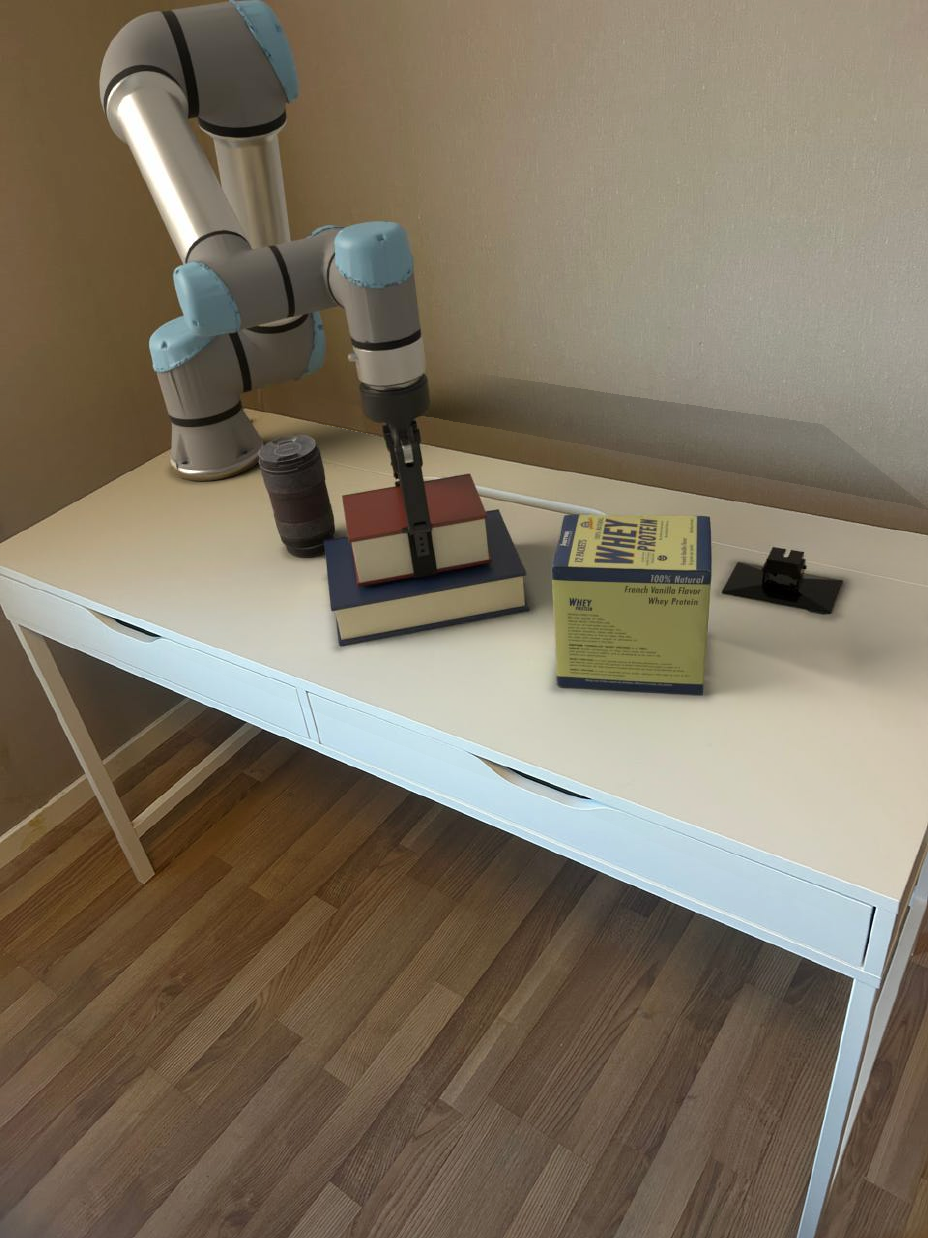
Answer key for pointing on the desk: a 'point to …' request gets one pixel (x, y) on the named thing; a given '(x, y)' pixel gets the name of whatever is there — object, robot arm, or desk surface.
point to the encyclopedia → (425, 591)
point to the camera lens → (298, 493)
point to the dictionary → (383, 517)
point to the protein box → (632, 602)
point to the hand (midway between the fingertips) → (419, 549)
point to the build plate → (784, 583)
